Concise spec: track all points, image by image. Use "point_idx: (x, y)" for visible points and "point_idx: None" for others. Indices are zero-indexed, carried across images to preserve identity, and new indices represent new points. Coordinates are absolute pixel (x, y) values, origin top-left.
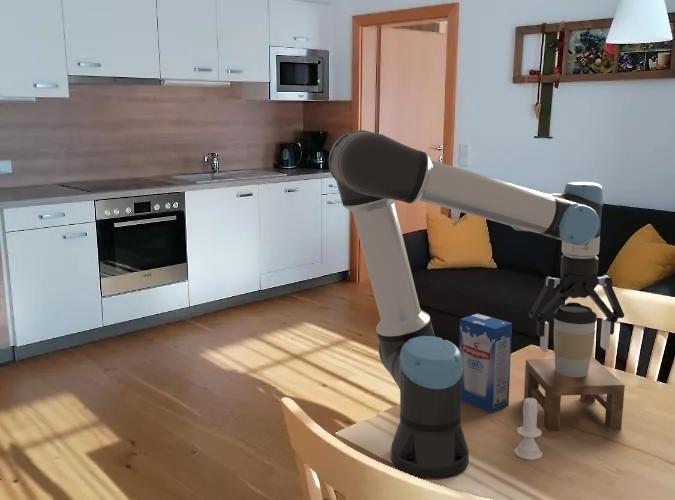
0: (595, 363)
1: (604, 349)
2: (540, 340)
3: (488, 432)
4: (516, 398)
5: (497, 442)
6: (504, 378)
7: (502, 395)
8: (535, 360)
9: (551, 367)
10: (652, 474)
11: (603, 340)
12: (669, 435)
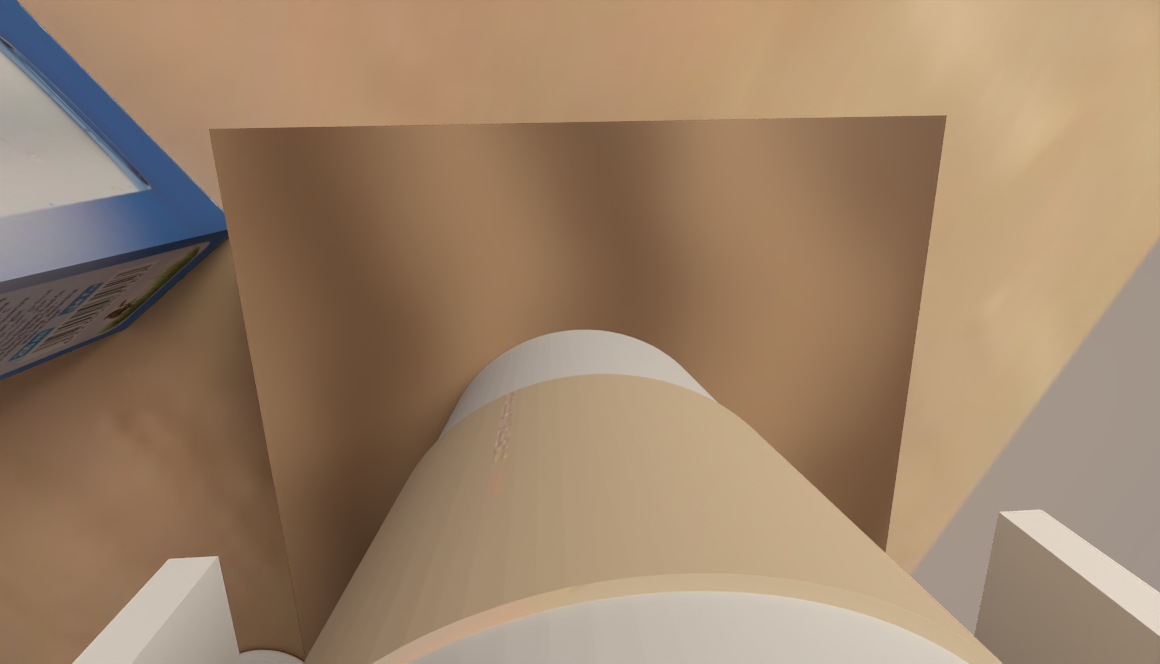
0: (881, 278)
1: (977, 622)
2: (91, 654)
3: (100, 530)
4: (305, 121)
5: None
6: (58, 303)
7: (140, 285)
8: (313, 168)
9: (433, 361)
10: None
11: (1073, 661)
12: (924, 555)
